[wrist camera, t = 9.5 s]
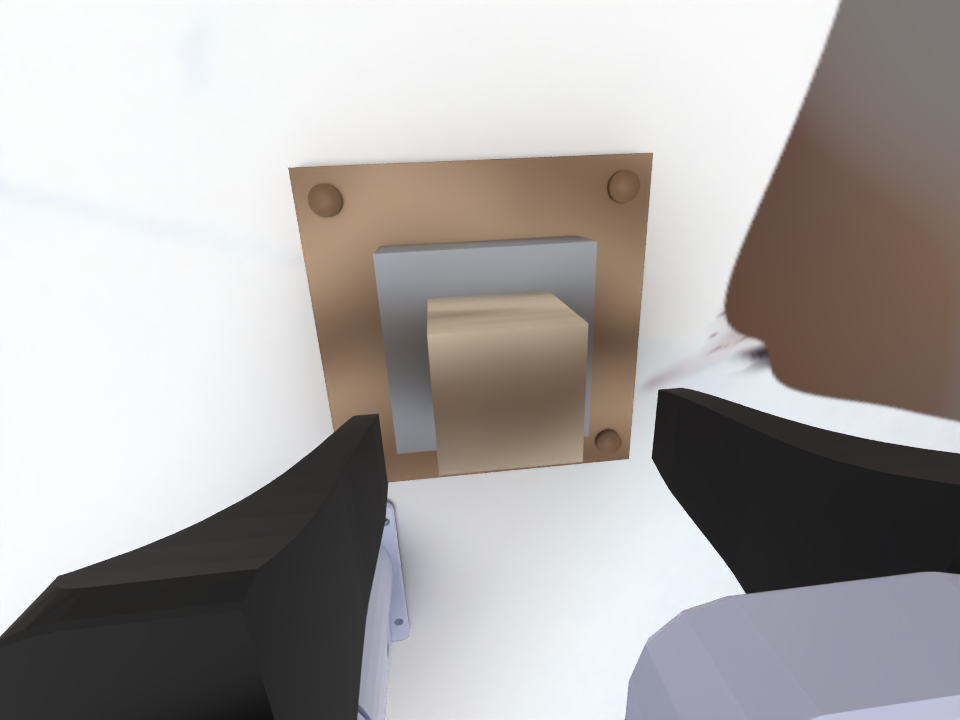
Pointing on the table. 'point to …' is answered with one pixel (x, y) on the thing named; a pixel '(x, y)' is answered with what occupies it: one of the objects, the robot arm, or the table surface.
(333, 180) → the tower base
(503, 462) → the beech brick
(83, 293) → the table surface
